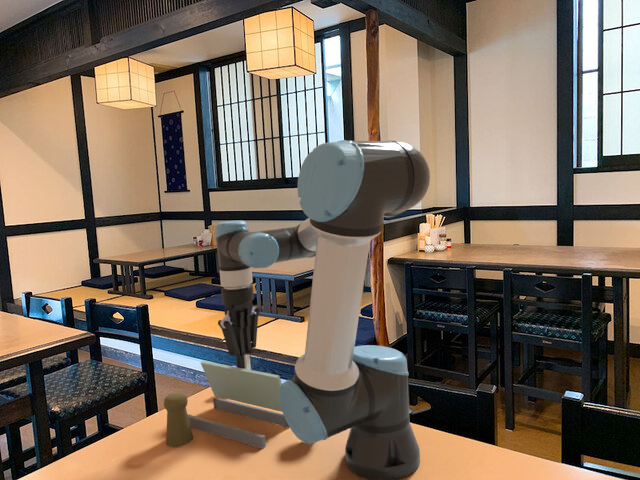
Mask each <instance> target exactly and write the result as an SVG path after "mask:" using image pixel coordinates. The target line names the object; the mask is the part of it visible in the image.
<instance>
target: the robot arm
mask: <svg viewBox="0 0 640 480" xmlns="http://www.w3.org/2000/svg"><path fill="white" fill-rule="evenodd" d="M298 173H299V174H298V178H297V195H298V196H297V197H299V198H300V200H299V205H300V208H301V210H302V211H303V213H304V215H305V216H306V217H307V218H306V219H305V220H304V221H302V222H300V223H299V224H298V225H296V226H295V225H294V226H290V227H284V228H276V229H267V230H261V231H260V230H259V231H250V230H249V227H248V223H247V222H246V221H245V220H228V221H227V220H226V221H221V222H218V223H216V226H215V242H216V251H217V259H218V260H217V261H218V268H219V269H218V270H219V277H220V278H219V279H220V286H221V287H222V288H221V290H220V292H221V300H222V301H221V302H222V304H223V305H224V307H225V309H224V317H223V318H222V319H219V320H218V322H217V325H218V326H219V328H220V329H221V331H222V335H223V338H224V341H225V346H226V348H227V350H228V354H229V356H231V357H232V356H233V357H236V367H238V368H243V369H248V370H252V368H251V366H252V355H251V354H254V352H255V348H256V346H257V340H258V339H257V337H258V336H257V335H258V323H259V314H260V312H261V309H260V307H255V306H254V303H253V301H254V299H255V295H254V286H253V284H252V283H253V282H254V281H253V272H252V268H253V269H267V268H269V267H271V266H272V265H273V264H277V263H282V262H287V261H293V260H300V259H305V258H307V259H308V258H309V259H310V258H314V257H315V258H314V265H313V274H312V275H313V276H312V283H311V292H310V302H309V313H308V321H307V330H306V339H305V340H306V341H305V349H304V354H302V355H300V356H299V357H298V358H297V360H296V362H295V363H294V365H295V366H294V371H293V378H292V379H286V380H285V381H284V382H282V384H281V386H280V389H279V400H280V405H281V409H282V412H281V413H282V414H283V415H284V417H285V420H286V422H287V424H288V425H289V427H290V428H289V427H288V428H289V429H290V430H291V432H292V434H294V436H296V437H297V439H298V440H300V441H301V442H303V443H305V444H314V443H318V442H320V441H325V440H327V439H328V438H330V437H334V436H336V435H338V434H341V433H342V432H344V431H347V430H349V433H348V437H347V440H346V444H345V449H344V454H345V459H344V460H345V464H346V466H347V467H348V469H349V470H351V472H352V473H354V474H356V475H358V476H360V477H363V478H365V479H368V480H398V479H402V478H405V477H407V476H409V475H411V474H413V473H414V472H415V471H416V470H417V469H418V467H420V464H421V452H420V445H419V443H418V440H417V438H416V436H415V433H414V430H413V428H412V426H411V422H410V420H411V419H410V391H409V390H410V389H409V375H410V374H409V371H408V364H407V357H406V356H405V354H404V353H403V352H401V351H399V350H397V349H395V348H394V347H393V348H392V347H388V346H384V345H376V344H375V345H374V344H373V345H372V344H371V345H369V344H367V345H357V346H356V345H355V344H356V339H357V332H358V324H359V319H360V318H359V317H360V312H361V305H362V297H363V291H364V285H365V278H366V271H367V263H368V259H369V252H370V247H371V246H370V243H371V241H372V240H373V239H375V238H376V237H378V236H379V235H380V234H381V233H382V229H383V223H384V217H385V218H393V217H396V216H398V215H400V214H402V213H404V212H405V211H408V210H410V209H412V208H414V207H415V206H416V205H418V204H419V203H421V201H422V200H423V199H424V197H425V196H426V194H427V192H428V190H429V187H430V180H431V174H430V173H431V172H430V168H429V164H428V162H427V160H426V158H425V157H424V155H423V154H422V153H421V152H420V151H419V150H418V149H417V148H416V147H415V146H413V145H411V144H409V143H407V142H404V141H401V140H345V139H342V140H338V141H334V142H333V141H332V142H330V141H329V142H324V143H323V142H322V143H321V144H319V145H317V146H315V147H314V148H313V149H312V150H311V151H310V152H309V153H308V154H307V155H306V157H305V158H304V160H303V162H302V165H301V167H300V169H299V172H298Z"/></svg>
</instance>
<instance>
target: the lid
mask: <svg viewBox="0 0 640 480" xmlns="http://www.w3.org/2000/svg"><path fill="white" fill-rule="evenodd" d="M200 365H201V367H202V369H203V373H204V374H205V377H206V379H207V382H208V384H209V386H210V389H211V391H212V393H213V395H214V396H215V397H217V398H221V399H225V400H229V401H231V400H232V401H233V402H237V403H242V404H246V405H250V406H254V407H258V408H263V409H264V408H265V409H267V410H268V409H269V410H271V411H275V412H276V411H277V412H279V413H283V412H282V409H281V405H280V400H279V389H280V386H281V384H282V383H283V382H282V380H281V376H280V375H278V374H273V373H270V372H262V371H257V370H254V369H253V370H252V369H251V370H248V369H243V368H238V367H237V366H236V367H233V366H234V365H227V364H221V363H217V362H211V361H205V360H202V361H201V362H200Z"/></svg>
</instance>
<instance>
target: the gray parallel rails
mask: <svg viewBox="0 0 640 480" xmlns="http://www.w3.org/2000/svg"><path fill="white" fill-rule="evenodd" d="M212 401H213V409H214V410H215V409H216V410H218V411H223V412H226V413H227V412H228V413H232V414H234V415H238V416H243V417H246V418H250V419H255V420H258V421H262V422H266V423H268V424H269V423H270V424H273V425H277V426H281V427H285V428H289V429H290V427H289V425H288V424H287V422H286V420H285V417H284V415H283V412H278V411H277V412H276V411H274V410H270V409H269V410H268V409H266V408H265V409H264V408H262V407H258V406H254V405H249V404H245V403H241V402H237V401H233V400H232V401H231V400H229V399H225V398H220V397H214V398H213V399H212ZM187 414H188V413H187ZM188 418H189V422H190V427H191V429H196V430H199V431H202V432H205V433H210V434H212V435H215V436H216V435H217V436H218V437H223V438H227V439H230V440H233V441H236V442H239V443H244V444H247V445H250V446H253V447H256V448H260V449H265V448H267V443H266V442H267V441H266V435H265V434H260V433H256V432H254V431H250V430H246V429H242V428H239V427H235V426H232V425H228V424H225V423H221V422H217V421H214V420H209V419H207V418H202V417H198V416H195V415H193V414H188Z"/></svg>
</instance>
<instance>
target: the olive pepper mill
mask: <svg viewBox="0 0 640 480" xmlns="http://www.w3.org/2000/svg"><path fill="white" fill-rule="evenodd" d="M165 396H166V397H164V400H163V407H164V410H166V434H165V435H166V436H165V437H166V438H165V444H166V446H167V447H171V448H180V447H184V446H186V445H188V444H190V443H191V442H192V441H193V439H194V435H193V431H192V428H191V427H190V422H189V418H188V411H187V406H188V401H189V400H188V396H187V395H186V394H185V393H184V392H180V391H177V392H171V393H169V394H168V395H165Z"/></svg>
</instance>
